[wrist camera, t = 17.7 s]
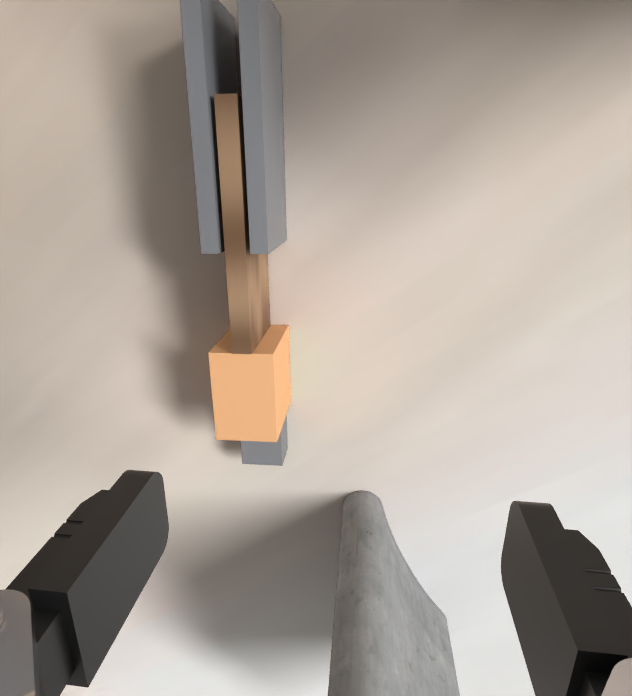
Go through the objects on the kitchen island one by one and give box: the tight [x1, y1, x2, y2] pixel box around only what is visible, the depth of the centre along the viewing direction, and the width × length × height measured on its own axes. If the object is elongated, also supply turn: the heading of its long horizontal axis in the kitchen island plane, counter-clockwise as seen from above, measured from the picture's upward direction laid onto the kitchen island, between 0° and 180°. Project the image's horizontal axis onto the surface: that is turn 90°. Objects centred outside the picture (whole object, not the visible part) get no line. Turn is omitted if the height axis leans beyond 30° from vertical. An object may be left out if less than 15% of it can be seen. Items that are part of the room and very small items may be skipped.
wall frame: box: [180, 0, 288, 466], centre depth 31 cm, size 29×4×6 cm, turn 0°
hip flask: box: [328, 491, 460, 696], centre depth 32 cm, size 16×4×20 cm, turn 28°
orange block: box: [208, 325, 291, 442], centre depth 34 cm, size 6×4×6 cm, turn 1°
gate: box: [214, 93, 270, 354], centre depth 30 cm, size 14×1×6 cm, turn 0°
